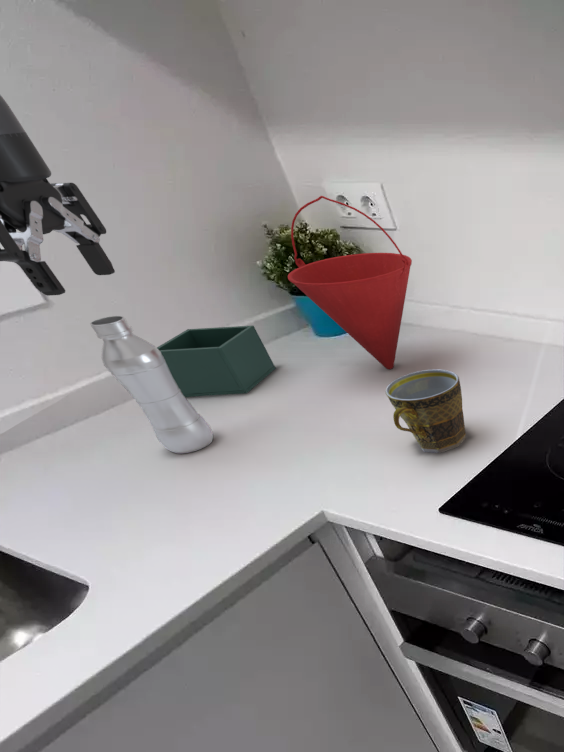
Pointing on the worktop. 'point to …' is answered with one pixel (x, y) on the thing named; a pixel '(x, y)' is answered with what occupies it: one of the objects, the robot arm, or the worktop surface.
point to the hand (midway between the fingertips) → (82, 283)
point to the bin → (217, 360)
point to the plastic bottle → (151, 386)
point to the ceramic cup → (429, 408)
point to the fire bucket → (359, 293)
